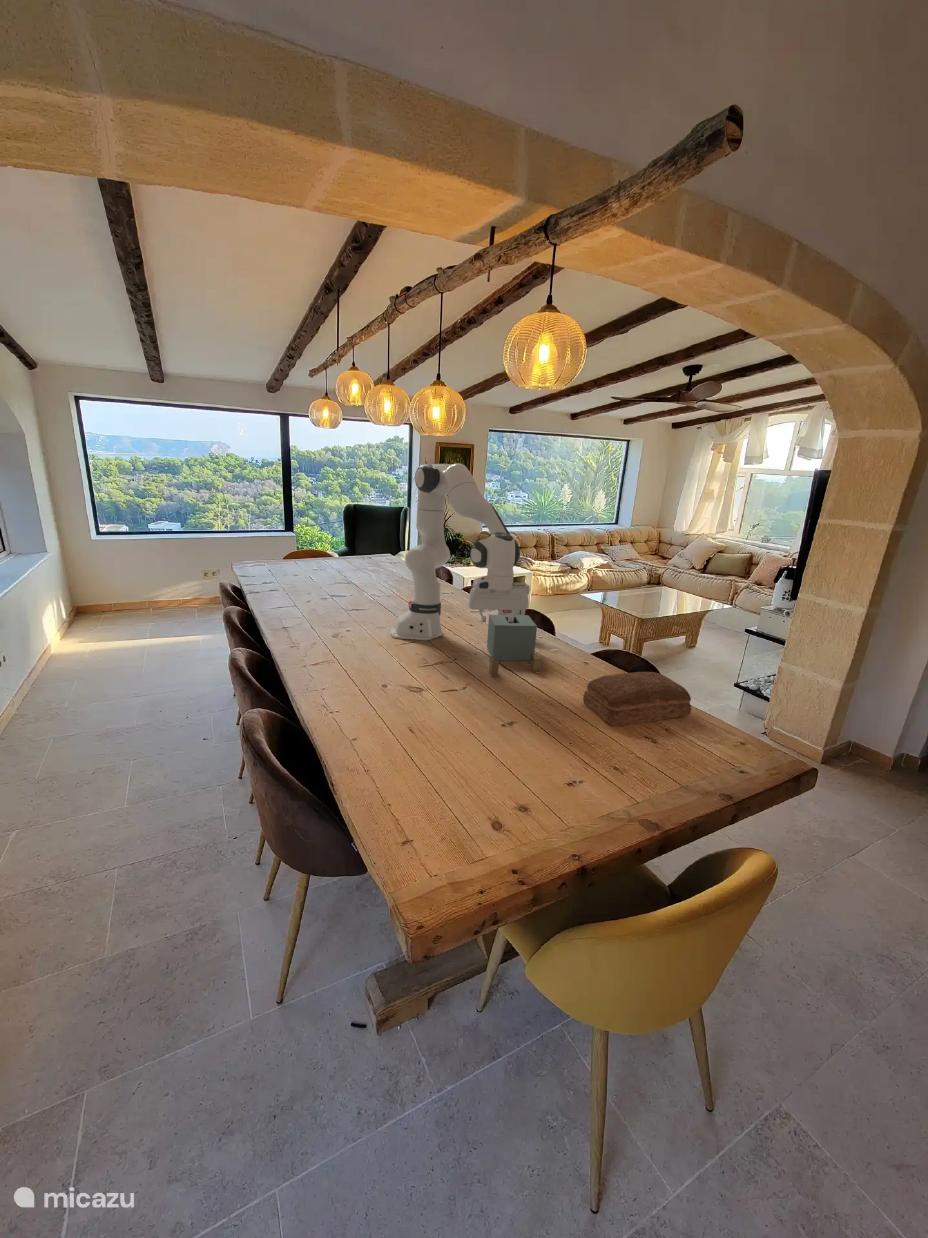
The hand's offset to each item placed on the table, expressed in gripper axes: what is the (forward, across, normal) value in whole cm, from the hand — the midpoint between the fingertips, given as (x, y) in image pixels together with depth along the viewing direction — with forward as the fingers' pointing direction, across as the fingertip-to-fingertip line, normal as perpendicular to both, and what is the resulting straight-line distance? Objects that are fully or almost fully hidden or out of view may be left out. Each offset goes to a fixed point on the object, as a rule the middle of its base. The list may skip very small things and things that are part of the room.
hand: (497, 621), depth 168 cm
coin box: (+19, -10, -20) cm, 30 cm away
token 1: (+20, 0, 0) cm, 20 cm away
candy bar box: (+20, -15, -44) cm, 51 cm away
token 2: (+20, -16, -4) cm, 26 cm away
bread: (+20, -40, +28) cm, 52 cm away
